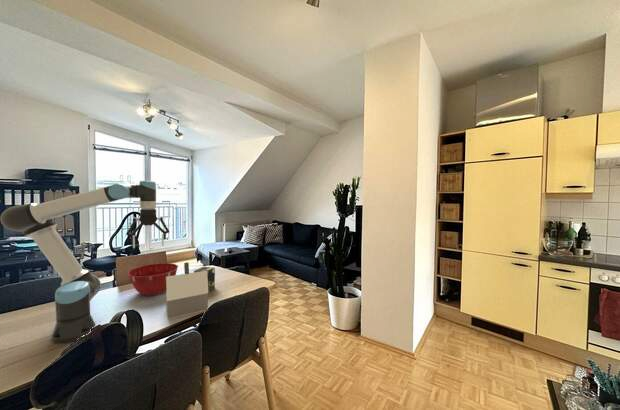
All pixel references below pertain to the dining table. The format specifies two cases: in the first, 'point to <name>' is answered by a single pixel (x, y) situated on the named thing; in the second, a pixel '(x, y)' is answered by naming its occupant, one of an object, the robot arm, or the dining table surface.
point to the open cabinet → (186, 305)
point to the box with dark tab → (186, 284)
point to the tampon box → (209, 276)
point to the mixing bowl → (152, 278)
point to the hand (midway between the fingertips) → (148, 246)
